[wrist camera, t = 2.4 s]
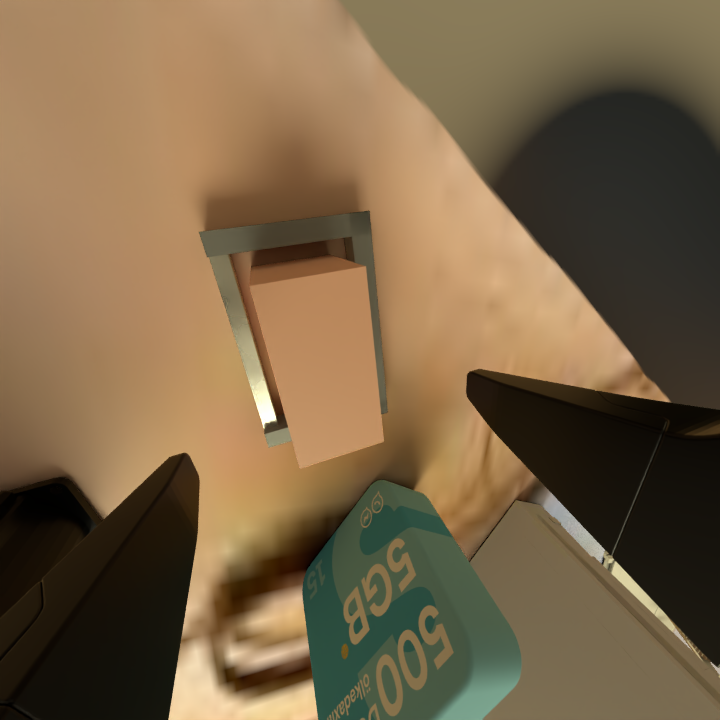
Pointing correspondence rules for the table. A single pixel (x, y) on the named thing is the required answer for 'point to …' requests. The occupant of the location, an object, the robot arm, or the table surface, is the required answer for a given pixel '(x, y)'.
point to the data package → (403, 618)
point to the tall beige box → (321, 353)
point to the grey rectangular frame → (218, 250)
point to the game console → (584, 633)
